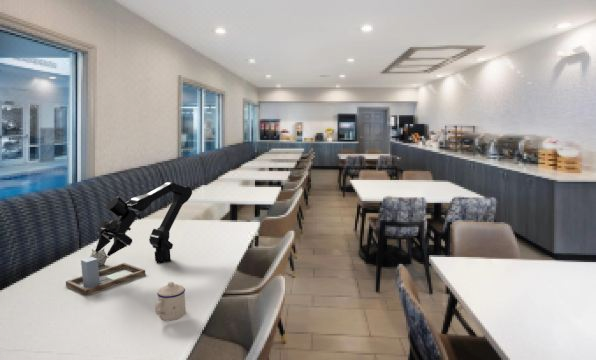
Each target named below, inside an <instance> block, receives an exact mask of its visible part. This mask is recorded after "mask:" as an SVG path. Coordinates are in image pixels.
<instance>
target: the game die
mask: <svg viewBox="0 0 596 360" xmlns="http://www.w3.org/2000/svg"><path fill="white" fill-rule="evenodd" d="M91 251H92V252H91V254H90V255H89V257H88V258H90V257H94V258H96V259H98V267H99V266H103V267H106V265H105V264H106V262H107V259H108V258H110V256H107V254H106V252H105V248H102V249H101V250H100V251H98V252H96V251H95V250H94V249H91Z"/></svg>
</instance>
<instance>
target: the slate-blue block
mask: <svg viewBox="0 0 596 360" xmlns="http://www.w3.org/2000/svg"><path fill="white" fill-rule="evenodd" d="M89 257H90V256H89ZM89 257H87V258H84V259H80V265H81V273H82V274H81V276H83V282H82V284H83V286H82V287H84V288H87V289H88V288H91V287H94V286H97V285H100V279H99V269H100V268H99V266H98V259H96V258H94V257H90V258H89Z"/></svg>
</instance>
